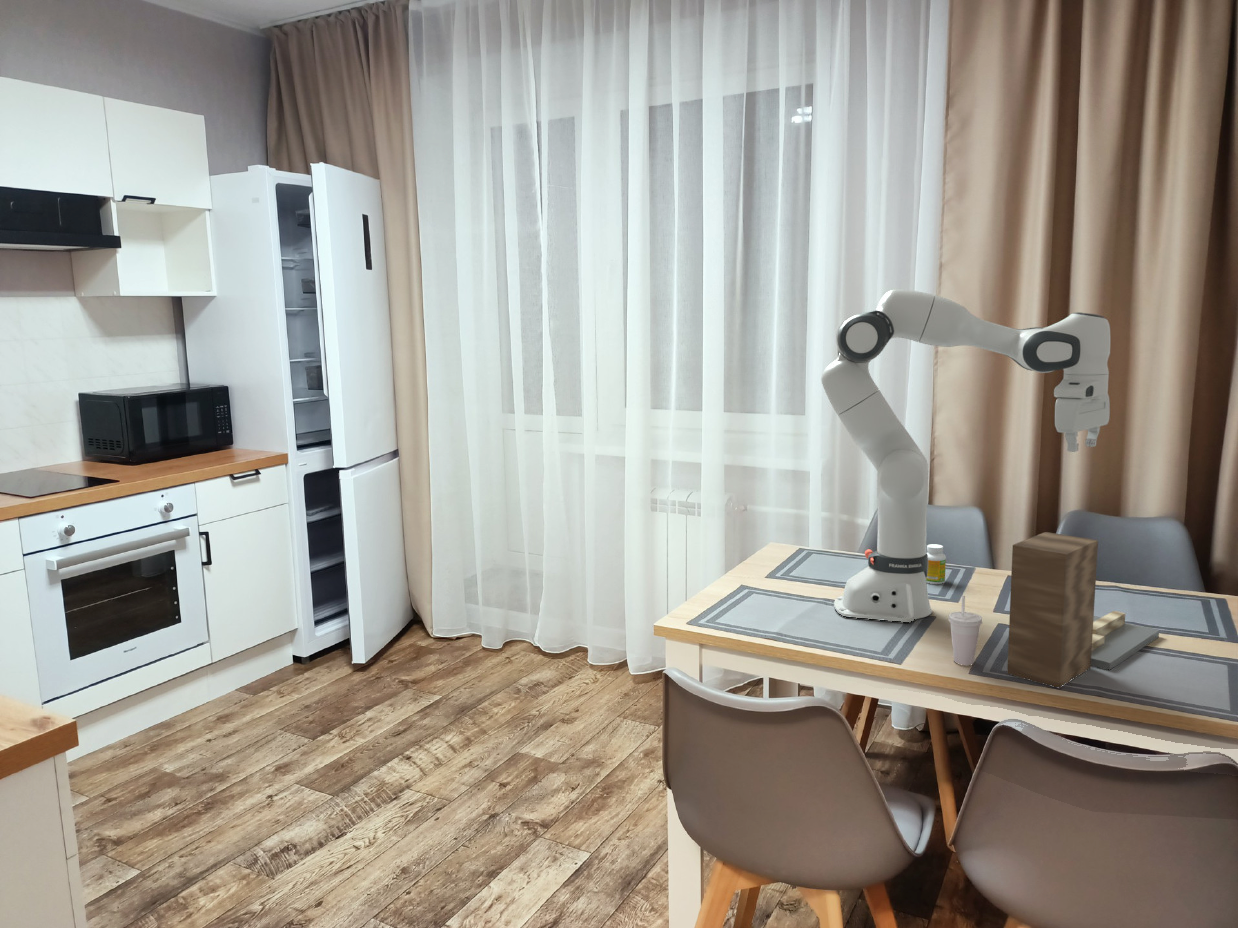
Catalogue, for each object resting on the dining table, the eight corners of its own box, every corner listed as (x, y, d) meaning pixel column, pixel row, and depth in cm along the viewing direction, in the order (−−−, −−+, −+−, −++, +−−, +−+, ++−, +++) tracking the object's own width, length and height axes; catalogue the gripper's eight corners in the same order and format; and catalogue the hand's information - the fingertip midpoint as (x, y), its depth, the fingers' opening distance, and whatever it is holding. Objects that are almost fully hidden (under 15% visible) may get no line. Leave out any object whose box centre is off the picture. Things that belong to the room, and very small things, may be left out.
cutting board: (1081, 619, 204) (1081, 612, 203) (1158, 636, 192) (1159, 630, 191) (1028, 649, 187) (1028, 642, 187) (1109, 670, 175) (1110, 662, 175)
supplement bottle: (942, 585, 231) (943, 549, 230) (921, 583, 234) (922, 547, 233) (947, 580, 236) (948, 544, 234) (926, 577, 239) (927, 542, 237)
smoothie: (941, 657, 184) (943, 591, 182) (971, 655, 185) (974, 590, 182) (955, 669, 178) (958, 601, 175) (986, 667, 178) (989, 599, 176)
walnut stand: (1039, 654, 184) (1045, 531, 180) (1090, 668, 176) (1098, 540, 172) (1007, 673, 175) (1012, 544, 171) (1059, 688, 167) (1066, 554, 163)
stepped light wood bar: (1104, 619, 199) (1105, 608, 199) (1133, 625, 194) (1134, 615, 194) (1057, 645, 185) (1057, 634, 184) (1087, 653, 180) (1088, 641, 180)
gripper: (1089, 383, 206) (1086, 442, 208) (1050, 389, 193) (1047, 453, 195) (1119, 384, 201) (1115, 444, 203) (1080, 391, 188) (1077, 455, 190)
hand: (1081, 449), depth 199 cm, fingers open, 8 cm apart
